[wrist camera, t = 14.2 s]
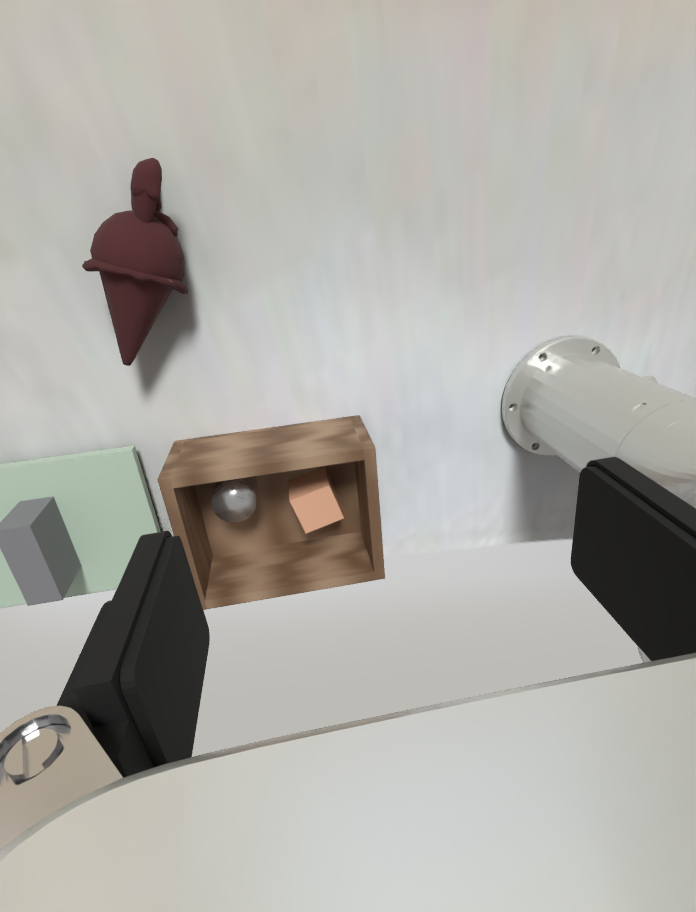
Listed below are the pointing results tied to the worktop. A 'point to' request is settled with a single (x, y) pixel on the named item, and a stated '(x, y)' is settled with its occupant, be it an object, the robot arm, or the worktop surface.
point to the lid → (70, 524)
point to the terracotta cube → (315, 500)
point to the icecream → (138, 260)
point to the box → (275, 511)
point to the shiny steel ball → (235, 499)
